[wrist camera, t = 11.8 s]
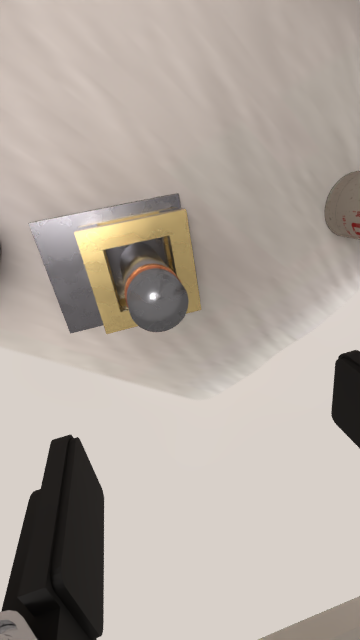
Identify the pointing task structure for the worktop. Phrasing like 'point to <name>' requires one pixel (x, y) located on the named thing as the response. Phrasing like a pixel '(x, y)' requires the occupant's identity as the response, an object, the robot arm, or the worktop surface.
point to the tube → (152, 289)
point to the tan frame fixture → (112, 257)
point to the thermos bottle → (345, 206)
